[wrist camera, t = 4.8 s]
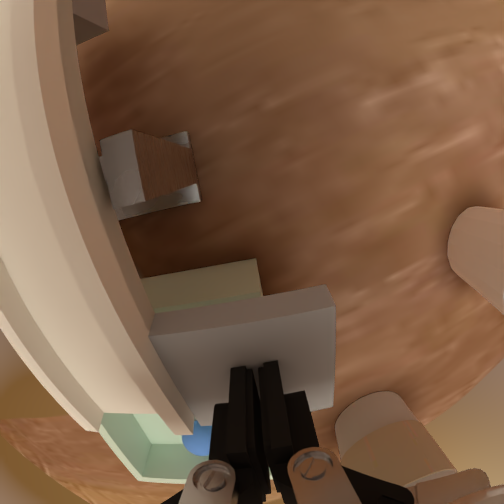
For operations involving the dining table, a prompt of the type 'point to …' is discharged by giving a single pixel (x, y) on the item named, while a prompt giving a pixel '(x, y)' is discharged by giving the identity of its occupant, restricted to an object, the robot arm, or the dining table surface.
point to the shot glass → (480, 251)
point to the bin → (151, 425)
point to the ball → (198, 440)
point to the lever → (114, 260)
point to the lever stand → (149, 172)
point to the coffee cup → (389, 442)
